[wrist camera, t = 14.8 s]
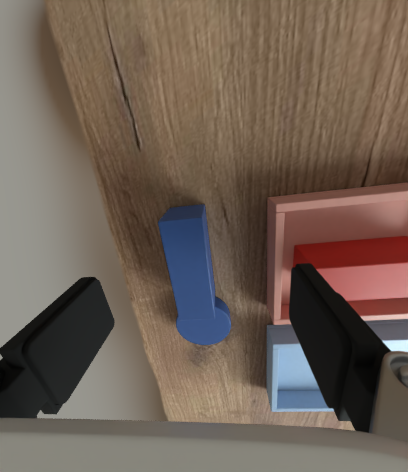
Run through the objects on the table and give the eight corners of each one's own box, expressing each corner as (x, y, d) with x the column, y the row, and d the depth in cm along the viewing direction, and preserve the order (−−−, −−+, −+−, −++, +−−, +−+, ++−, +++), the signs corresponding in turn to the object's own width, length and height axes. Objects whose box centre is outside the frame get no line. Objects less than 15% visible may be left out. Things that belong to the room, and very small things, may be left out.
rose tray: (267, 197, 12) (276, 204, 11) (526, 169, 11) (584, 172, 9) (266, 306, 16) (273, 325, 14) (464, 295, 14) (499, 314, 13)
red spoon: (291, 285, 14) (309, 316, 12) (294, 230, 13) (316, 251, 10) (466, 274, 13) (532, 305, 11) (494, 212, 12) (582, 230, 9)
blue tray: (266, 324, 17) (272, 344, 15) (454, 315, 15) (485, 336, 13) (266, 389, 20) (271, 411, 18) (420, 386, 19) (441, 411, 17)
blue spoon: (155, 209, 13) (139, 223, 10) (219, 202, 13) (221, 215, 10) (182, 334, 17) (176, 367, 15) (231, 332, 17) (234, 366, 14)
